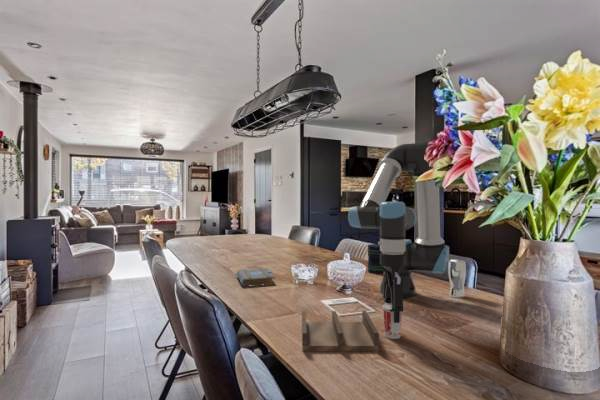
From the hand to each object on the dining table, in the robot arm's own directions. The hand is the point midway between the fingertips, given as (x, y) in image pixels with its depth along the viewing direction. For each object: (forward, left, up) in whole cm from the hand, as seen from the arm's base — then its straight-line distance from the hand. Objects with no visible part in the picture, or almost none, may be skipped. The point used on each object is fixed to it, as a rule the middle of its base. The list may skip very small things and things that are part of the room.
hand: (392, 328), depth 104 cm
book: (+51, -69, -3) cm, 86 cm away
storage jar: (-15, -88, -3) cm, 89 cm away
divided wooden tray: (+17, +1, -3) cm, 17 cm away
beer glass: (-39, -42, -3) cm, 57 cm away
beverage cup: (0, 0, -3) cm, 3 cm away
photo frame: (+10, -28, -3) cm, 30 cm away
